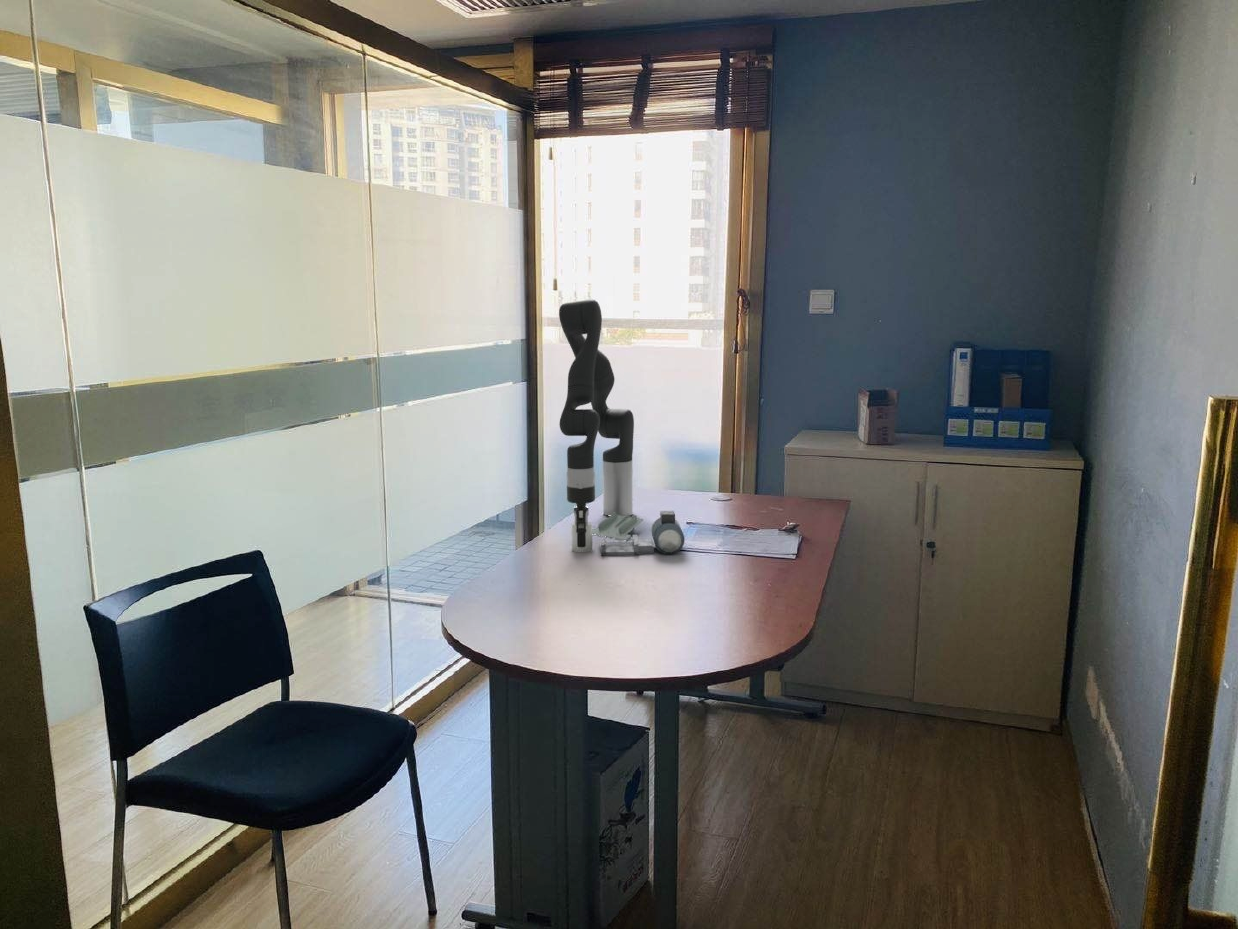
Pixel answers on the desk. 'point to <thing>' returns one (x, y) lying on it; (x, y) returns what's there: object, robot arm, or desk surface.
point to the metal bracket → (617, 526)
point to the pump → (588, 538)
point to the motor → (664, 536)
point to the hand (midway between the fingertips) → (581, 542)
